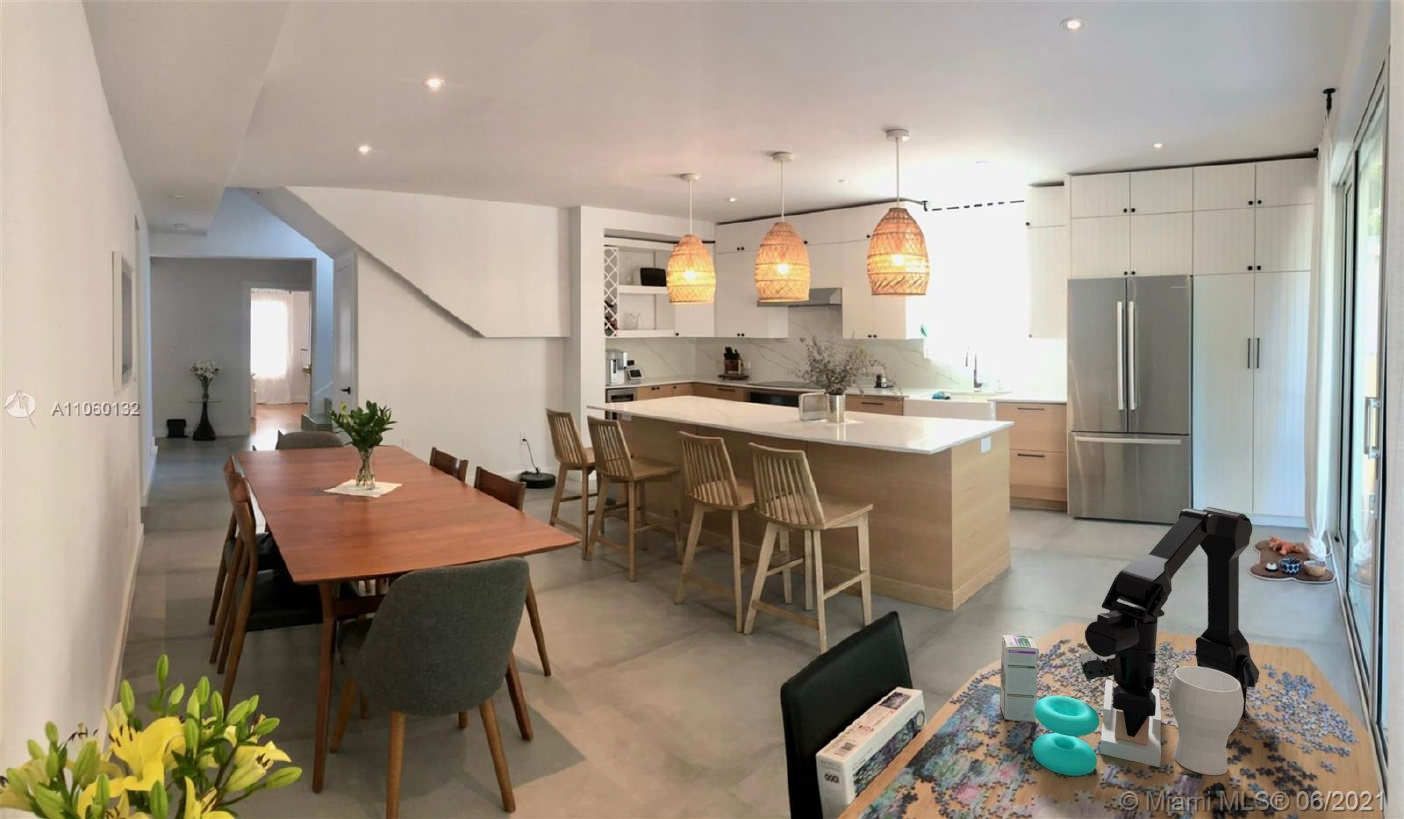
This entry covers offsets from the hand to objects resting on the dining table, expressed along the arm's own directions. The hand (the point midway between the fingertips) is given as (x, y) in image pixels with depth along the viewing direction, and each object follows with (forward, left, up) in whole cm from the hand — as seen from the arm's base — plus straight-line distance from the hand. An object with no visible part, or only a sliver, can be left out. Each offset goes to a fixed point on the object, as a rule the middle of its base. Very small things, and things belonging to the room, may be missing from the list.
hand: (1131, 729), depth 141 cm
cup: (-11, -1, -4) cm, 11 cm away
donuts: (+10, +10, -4) cm, 14 cm away
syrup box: (+19, -4, -4) cm, 20 cm away
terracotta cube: (0, 0, -1) cm, 1 cm away
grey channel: (0, -6, -4) cm, 7 cm away
